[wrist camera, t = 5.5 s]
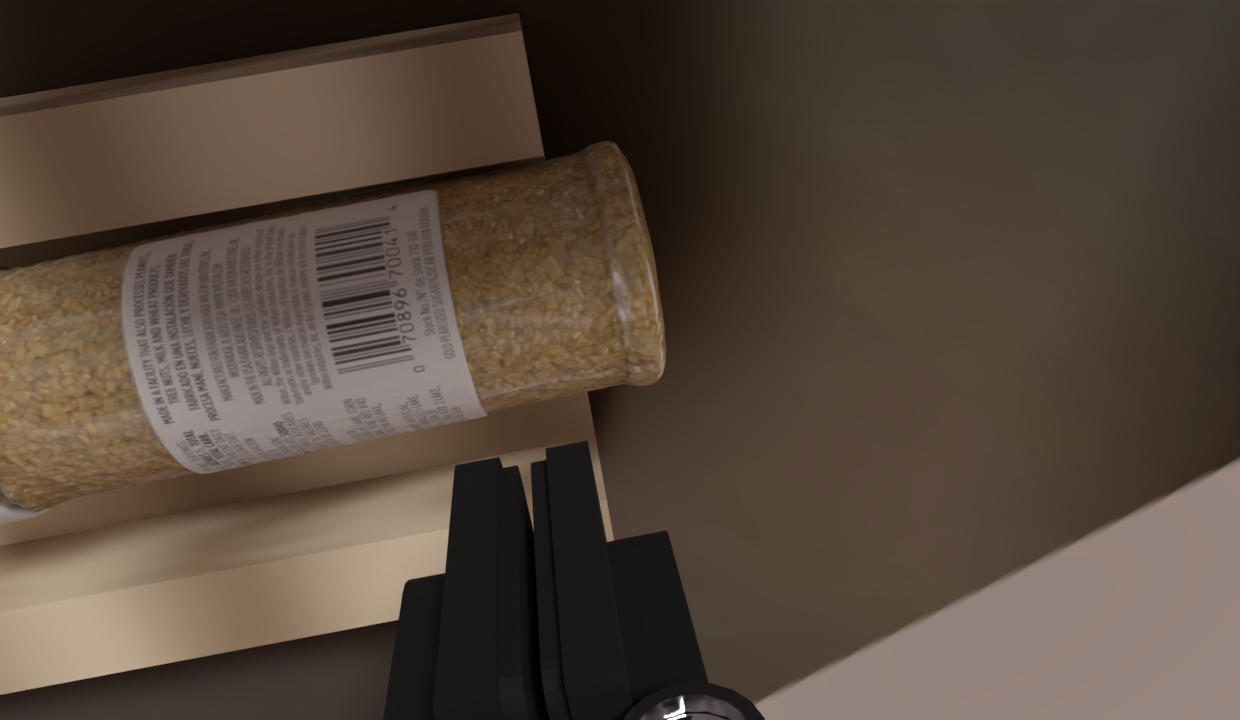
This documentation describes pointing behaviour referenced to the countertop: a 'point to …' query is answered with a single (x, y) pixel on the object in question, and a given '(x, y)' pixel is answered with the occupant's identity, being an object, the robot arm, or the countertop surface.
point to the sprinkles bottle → (324, 326)
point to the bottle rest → (287, 487)
